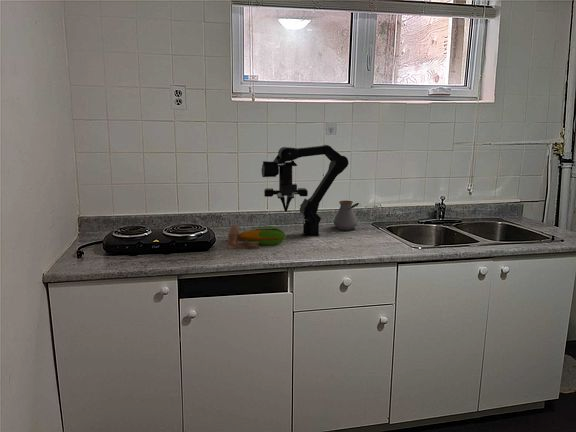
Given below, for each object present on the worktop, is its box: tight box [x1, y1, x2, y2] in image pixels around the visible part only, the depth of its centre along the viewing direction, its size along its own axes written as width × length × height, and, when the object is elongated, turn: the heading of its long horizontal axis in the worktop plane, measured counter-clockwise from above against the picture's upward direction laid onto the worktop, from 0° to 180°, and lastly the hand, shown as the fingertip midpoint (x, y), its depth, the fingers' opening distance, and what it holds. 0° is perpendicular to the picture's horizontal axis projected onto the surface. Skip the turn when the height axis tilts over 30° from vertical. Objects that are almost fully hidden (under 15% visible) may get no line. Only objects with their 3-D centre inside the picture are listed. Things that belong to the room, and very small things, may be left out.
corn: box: [238, 225, 286, 246], centre depth 202 cm, size 7×8×20 cm
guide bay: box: [227, 225, 260, 250], centre depth 202 cm, size 12×15×6 cm
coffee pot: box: [333, 200, 361, 231], centre depth 225 cm, size 21×12×15 cm, turn 13°
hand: (285, 211), depth 214 cm, fingers closed
